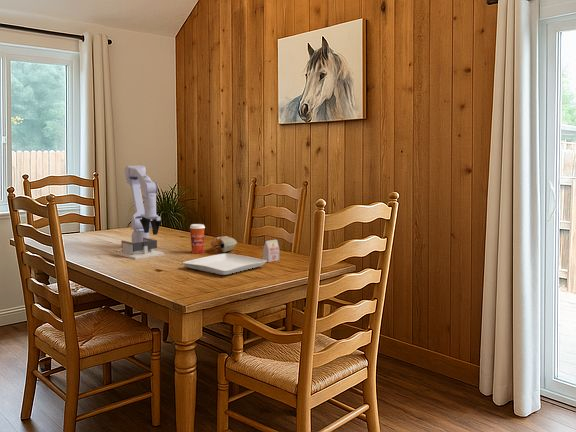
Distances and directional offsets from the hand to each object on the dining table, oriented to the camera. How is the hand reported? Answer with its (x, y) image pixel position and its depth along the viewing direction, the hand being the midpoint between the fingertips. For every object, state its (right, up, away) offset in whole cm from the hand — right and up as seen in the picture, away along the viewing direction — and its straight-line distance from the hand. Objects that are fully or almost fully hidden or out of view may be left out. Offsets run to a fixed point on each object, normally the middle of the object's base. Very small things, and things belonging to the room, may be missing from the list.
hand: (150, 233), depth 292 cm
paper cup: (+23, -10, +1) cm, 25 cm away
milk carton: (+61, -13, -18) cm, 65 cm away
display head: (-4, -10, -6) cm, 12 cm away
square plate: (+41, -15, -34) cm, 55 cm away
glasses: (-4, -7, -5) cm, 10 cm away
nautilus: (+34, -10, +3) cm, 35 cm away
